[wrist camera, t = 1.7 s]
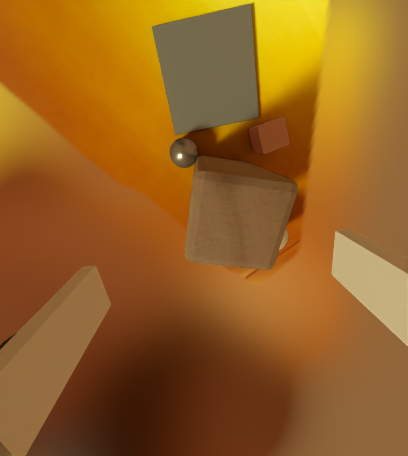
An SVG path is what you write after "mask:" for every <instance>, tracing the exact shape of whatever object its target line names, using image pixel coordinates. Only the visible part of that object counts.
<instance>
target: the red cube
mask: <svg viewBox="0 0 408 456" xmlns="http://www.w3.org/2000/svg"><path fill="white" fill-rule="evenodd" d="M248 132H249V136H250V140H251V143H252V147H253V151H254V153H258V154H263V155H264V154H267V153H270V152H272V151H275V150H278V149H280V148H283V147H285V146H288V145H290V141H289V135H288V130H287V125H286V120H285V116H282V117H279V118H276V119H272V120H269V121H267V122H265V123H262V124H260V125H257V126H255V127H252V128H250V129H248Z"/></svg>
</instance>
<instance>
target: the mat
mask: <svg viewBox="0 0 408 456" xmlns="http://www.w3.org/2000/svg"><path fill="white" fill-rule="evenodd" d="M152 30H153V34H154V39H155V44H156V48H157V53H158V57H159V62H160V66H161V71H162V76H163V80H164V85H165V89H166V94H167V99H168V103H169V108H170V112H171V117H172V121H173V126H174V131H175V135H177V134H182V133H187V132H192V131H196V130H201V129H206V128H211V127H216V126H221V125H226V124H231V123H236V122H241V121H246V120H250V119H255V118H259V112H258V97H257V83H256V69H255V54H254V40H253V26H252V11H251V4H248V5H244V6H239V7H235V8H231V9H226V10H222V11H218V12H213V13H209V14H205V15H200V16H196V17H192V18H187V19H183V20H179V21H174V22H170V23H166V24H161V25H157V26H153V27H152Z"/></svg>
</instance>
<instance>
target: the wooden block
mask: <svg viewBox="0 0 408 456" xmlns="http://www.w3.org/2000/svg"><path fill="white" fill-rule="evenodd" d="M297 193H298V185H297V183H295V182H294V181H292V180H291V179H289V178H286V177H284V176H281V175H279V174H276V173H274V172H271V171H269V170H266V169H264V168H261V167H259V166H256V165H254V164H251V163H249V162H244V161H238V160H231V159H224V158H218V157H211V156H204V155H201V156H198V157H197V160H196V162H195V169H194V176H193V184H192V192H191V200H190V209H189V217H188V225H187V234H186V243H185V251H184V253H185V256H186V258H187V260H189V261H191V262H195V263H204V264H213V265H223V266H232V267H241V268H251V269H260V270H269V269H271V268H272V267H273V266H274V264H275V261H276V258H277V255H278V251H279V248H280V245H281V242H282V239H283V236H284V233H285V230H286V227H287V224H288V220H289V217H290V214H291V211H292V208H293V205H294V202H295V199H296V196H297Z"/></svg>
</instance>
